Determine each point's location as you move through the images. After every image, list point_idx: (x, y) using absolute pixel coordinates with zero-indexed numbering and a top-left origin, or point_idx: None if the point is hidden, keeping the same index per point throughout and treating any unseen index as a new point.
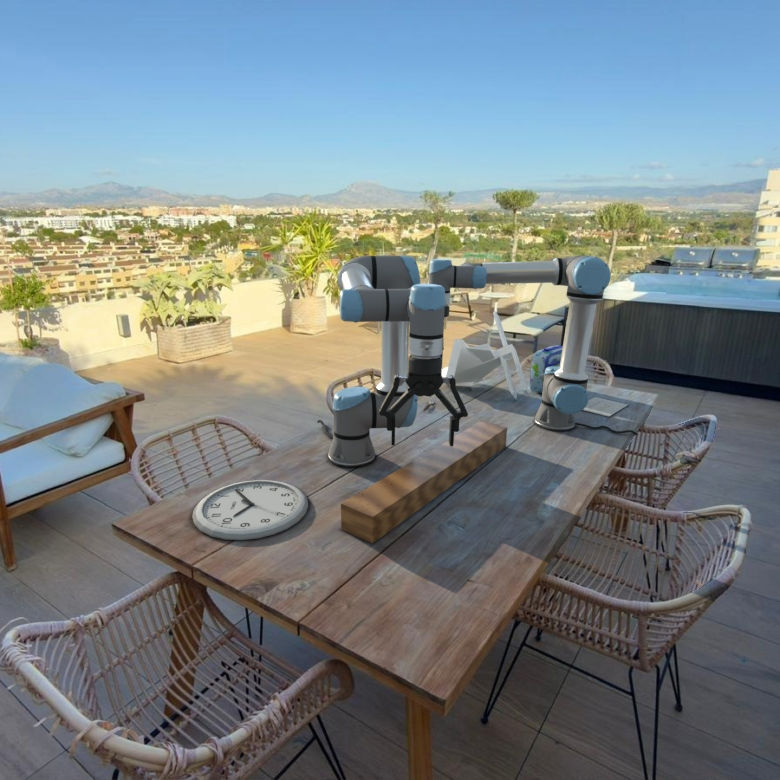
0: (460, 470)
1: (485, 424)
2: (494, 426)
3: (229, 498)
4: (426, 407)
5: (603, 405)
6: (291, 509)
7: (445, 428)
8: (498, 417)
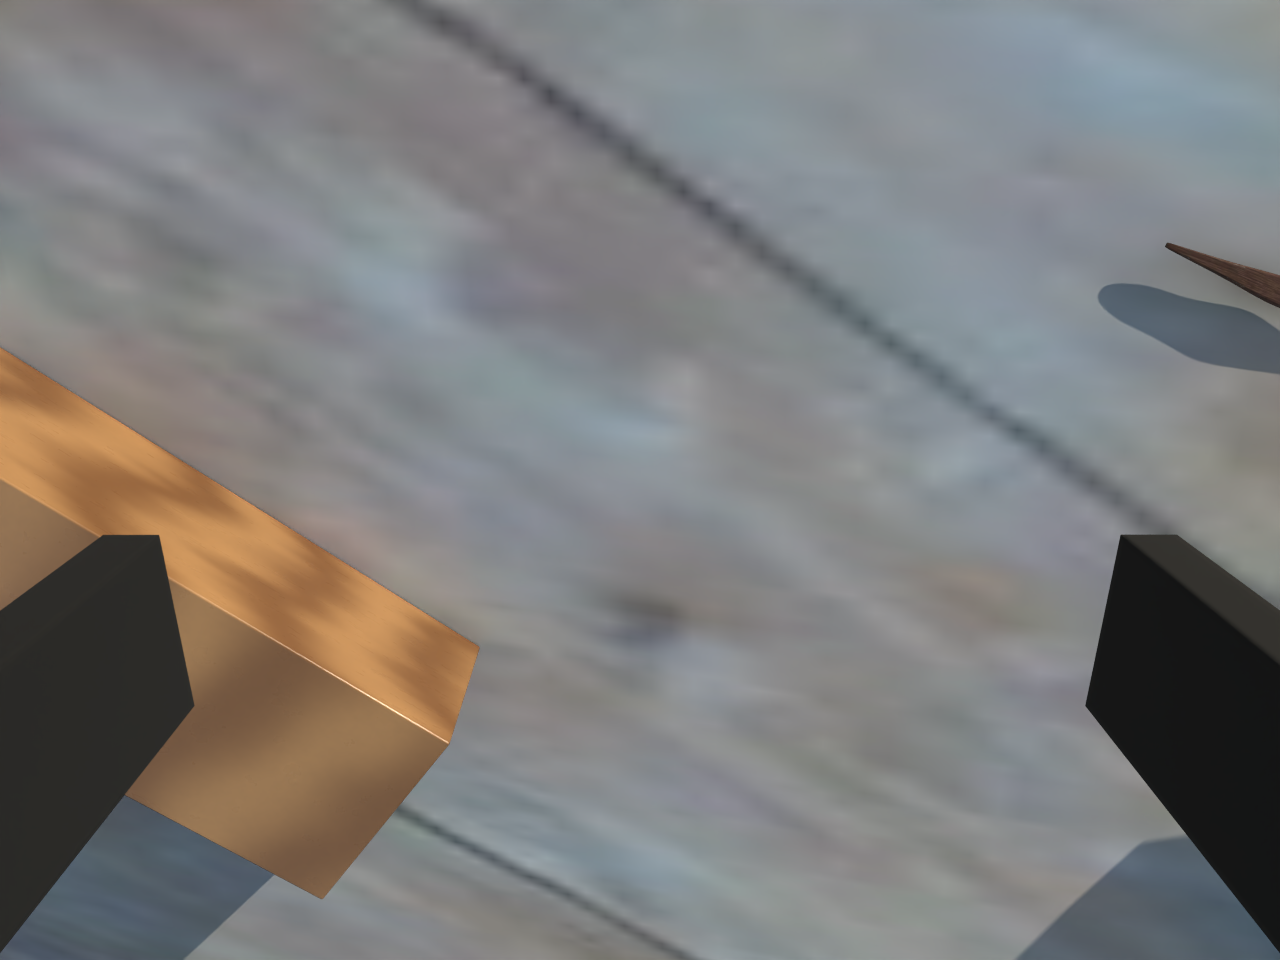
0: None
1: (359, 762)
2: (323, 818)
3: None
4: (1250, 284)
5: None
6: None
7: (710, 417)
8: (948, 839)
